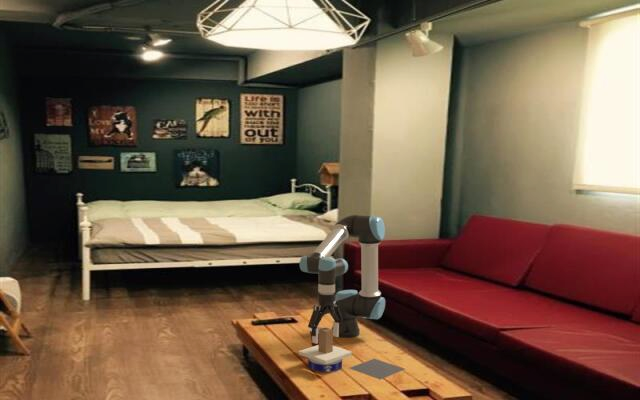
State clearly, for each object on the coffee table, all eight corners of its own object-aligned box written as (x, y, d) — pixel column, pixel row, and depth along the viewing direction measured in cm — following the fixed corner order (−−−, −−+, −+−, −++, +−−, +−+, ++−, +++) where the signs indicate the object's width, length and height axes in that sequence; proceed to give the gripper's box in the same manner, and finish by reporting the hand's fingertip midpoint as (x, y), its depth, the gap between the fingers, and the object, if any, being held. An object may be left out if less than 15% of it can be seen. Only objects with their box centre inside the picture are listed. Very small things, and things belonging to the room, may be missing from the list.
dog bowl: (316, 376, 250) (316, 362, 249) (302, 364, 264) (303, 351, 263) (347, 371, 256) (348, 358, 256) (332, 360, 270) (333, 347, 270)
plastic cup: (334, 356, 274) (334, 331, 273) (312, 358, 271) (313, 333, 270) (326, 349, 284) (327, 325, 283) (305, 351, 281) (306, 326, 280)
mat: (374, 359, 271) (374, 358, 271) (405, 370, 258) (405, 368, 258) (348, 369, 258) (348, 368, 258) (380, 380, 245) (380, 379, 245)
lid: (325, 345, 272) (325, 321, 271) (352, 355, 260) (352, 330, 259) (298, 354, 259) (299, 329, 259) (325, 364, 248) (326, 338, 247)
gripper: (339, 287, 269) (338, 332, 270) (300, 295, 251) (299, 343, 253) (351, 290, 264) (350, 335, 265) (312, 298, 246) (311, 347, 247)
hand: (325, 339), depth 259 cm, fingers open, 13 cm apart
